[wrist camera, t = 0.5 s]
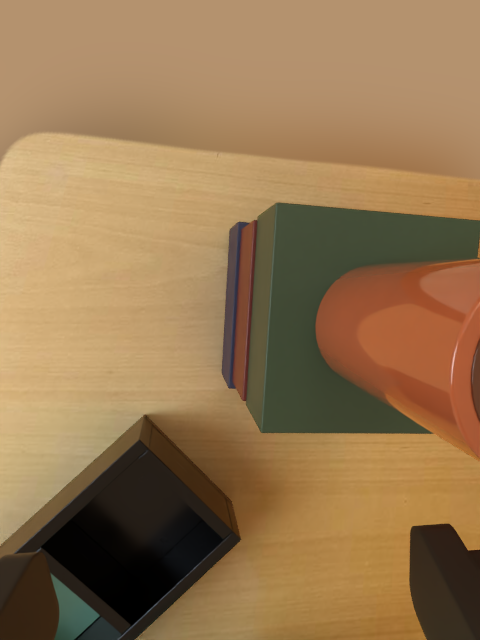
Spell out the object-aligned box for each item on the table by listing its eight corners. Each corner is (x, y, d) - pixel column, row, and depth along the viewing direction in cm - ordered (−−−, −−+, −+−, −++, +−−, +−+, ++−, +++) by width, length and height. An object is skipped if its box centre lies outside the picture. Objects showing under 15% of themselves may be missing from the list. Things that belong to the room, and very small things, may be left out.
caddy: (-50, 590, 28) (-92, 649, 24) (144, 414, 29) (139, 439, 25) (50, 670, 30) (27, 740, 26) (232, 501, 31) (241, 540, 26)
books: (221, 373, 30) (251, 438, 18) (229, 229, 29) (266, 196, 17) (356, 377, 31) (466, 438, 19) (368, 239, 30) (490, 216, 18)
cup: (290, 321, 18) (405, 367, 9) (380, 238, 18) (584, 200, 9) (365, 408, 19) (541, 532, 10) (451, 329, 19) (699, 376, 10)
